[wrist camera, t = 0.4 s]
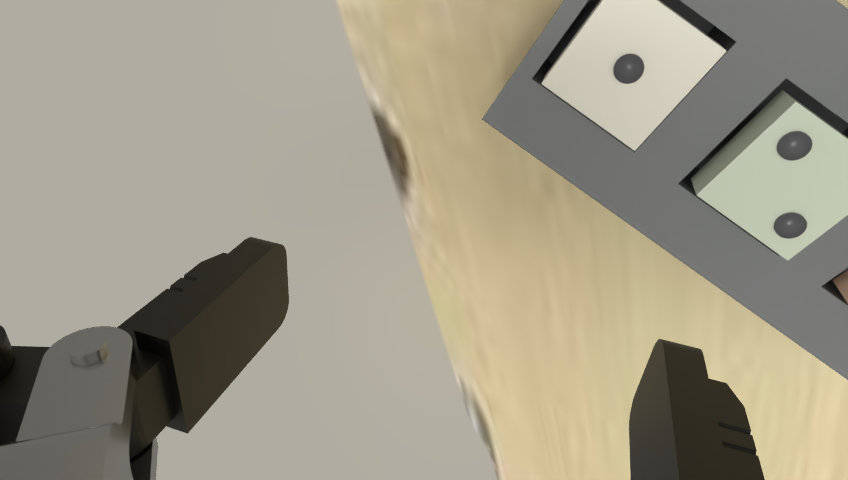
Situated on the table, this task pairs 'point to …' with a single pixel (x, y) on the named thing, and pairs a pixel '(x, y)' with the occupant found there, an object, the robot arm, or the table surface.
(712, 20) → the console
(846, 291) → the tan block with dots
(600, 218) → the table surface
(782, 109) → the pale green flat block
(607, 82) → the tile
